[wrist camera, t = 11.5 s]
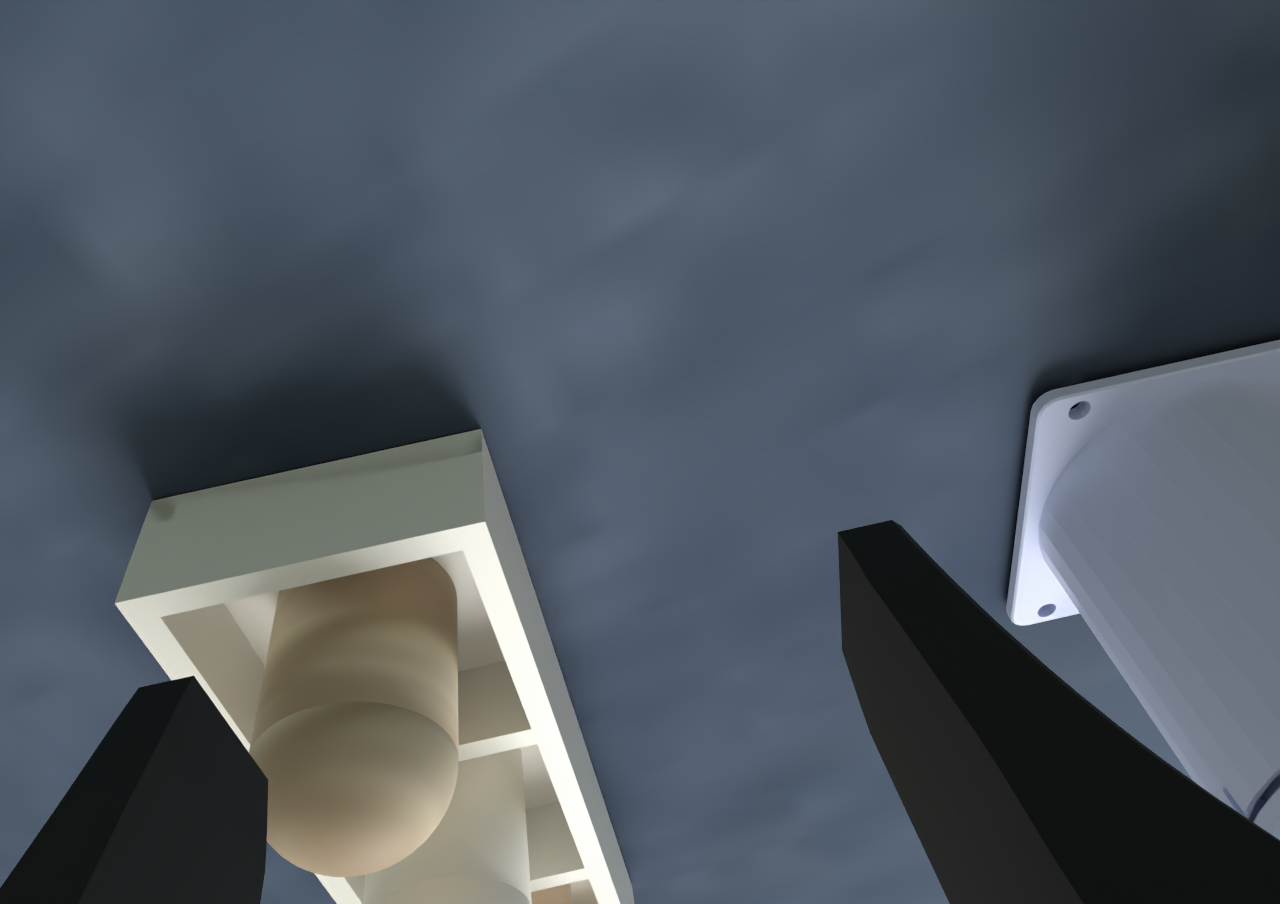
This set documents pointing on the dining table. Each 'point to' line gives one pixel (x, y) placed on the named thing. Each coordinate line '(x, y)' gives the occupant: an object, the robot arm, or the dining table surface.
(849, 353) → the dining table surface
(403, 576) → the wooden egg
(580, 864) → the egg carton
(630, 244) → the dining table surface
